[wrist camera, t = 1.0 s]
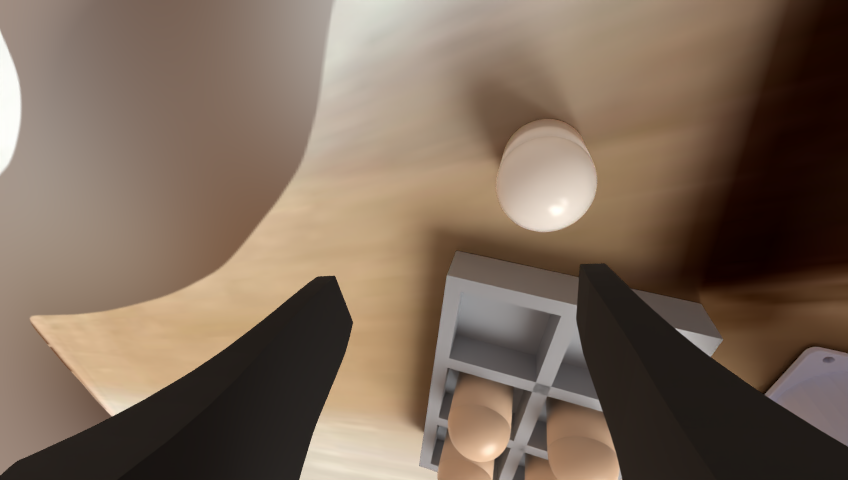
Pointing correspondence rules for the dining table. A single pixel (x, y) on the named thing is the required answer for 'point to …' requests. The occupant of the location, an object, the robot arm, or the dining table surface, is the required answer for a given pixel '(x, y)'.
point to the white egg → (546, 176)
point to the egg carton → (524, 376)
